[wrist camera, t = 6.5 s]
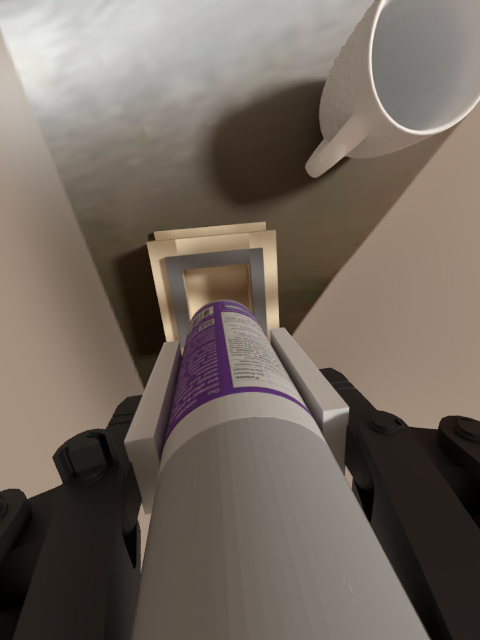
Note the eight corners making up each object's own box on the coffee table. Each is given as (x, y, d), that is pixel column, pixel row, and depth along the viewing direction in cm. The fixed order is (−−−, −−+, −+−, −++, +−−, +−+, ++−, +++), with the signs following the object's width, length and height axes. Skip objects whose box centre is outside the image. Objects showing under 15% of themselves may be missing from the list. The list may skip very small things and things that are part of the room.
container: (199, 373, 18) (167, 936, 3) (177, 310, 16) (-43, 867, 2) (265, 354, 18) (487, 820, 4) (249, 290, 16) (539, 673, 2)
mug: (320, 214, 34) (383, 205, 22) (261, 148, 31) (297, 94, 19) (407, 117, 32) (533, 46, 19) (353, 33, 28) (464, -117, 16)
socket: (155, 231, 32) (142, 232, 26) (263, 221, 34) (277, 220, 27) (176, 345, 38) (170, 369, 31) (269, 333, 39) (281, 354, 33)
